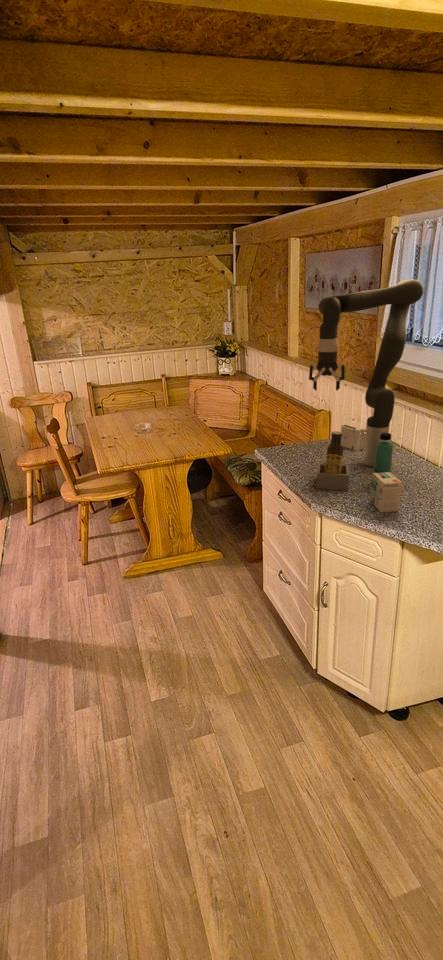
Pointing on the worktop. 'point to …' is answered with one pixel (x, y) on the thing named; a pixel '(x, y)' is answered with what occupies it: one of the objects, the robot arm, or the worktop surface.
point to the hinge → (352, 437)
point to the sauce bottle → (334, 454)
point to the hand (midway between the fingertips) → (326, 390)
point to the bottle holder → (333, 478)
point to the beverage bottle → (383, 454)
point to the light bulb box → (386, 491)
